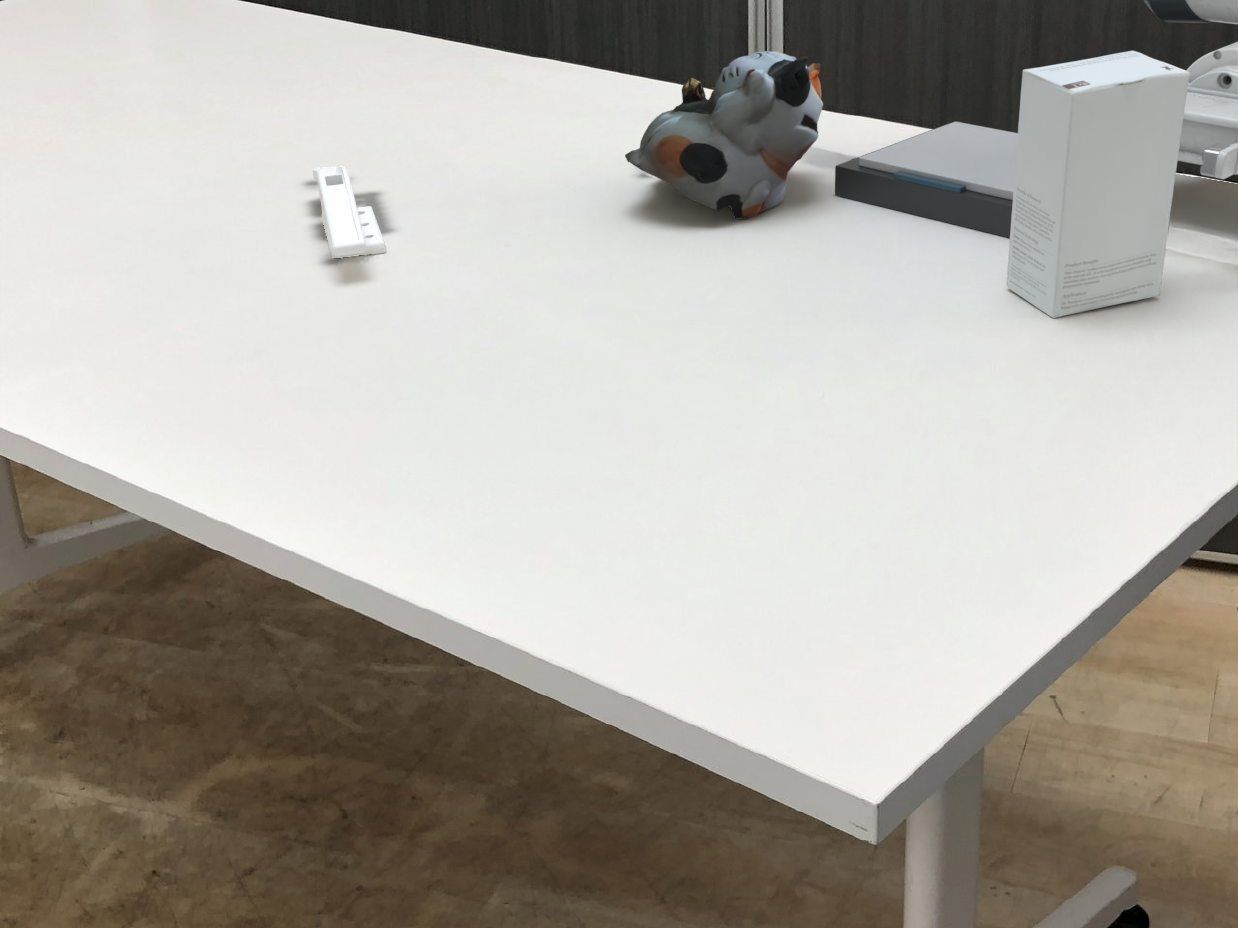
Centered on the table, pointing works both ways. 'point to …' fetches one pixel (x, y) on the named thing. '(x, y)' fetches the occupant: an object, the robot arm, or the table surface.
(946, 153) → the scale
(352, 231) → the white intercom handset
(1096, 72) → the cosmetic box
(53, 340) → the table surface
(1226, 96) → the robot arm
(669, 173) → the lucky cat figurine
